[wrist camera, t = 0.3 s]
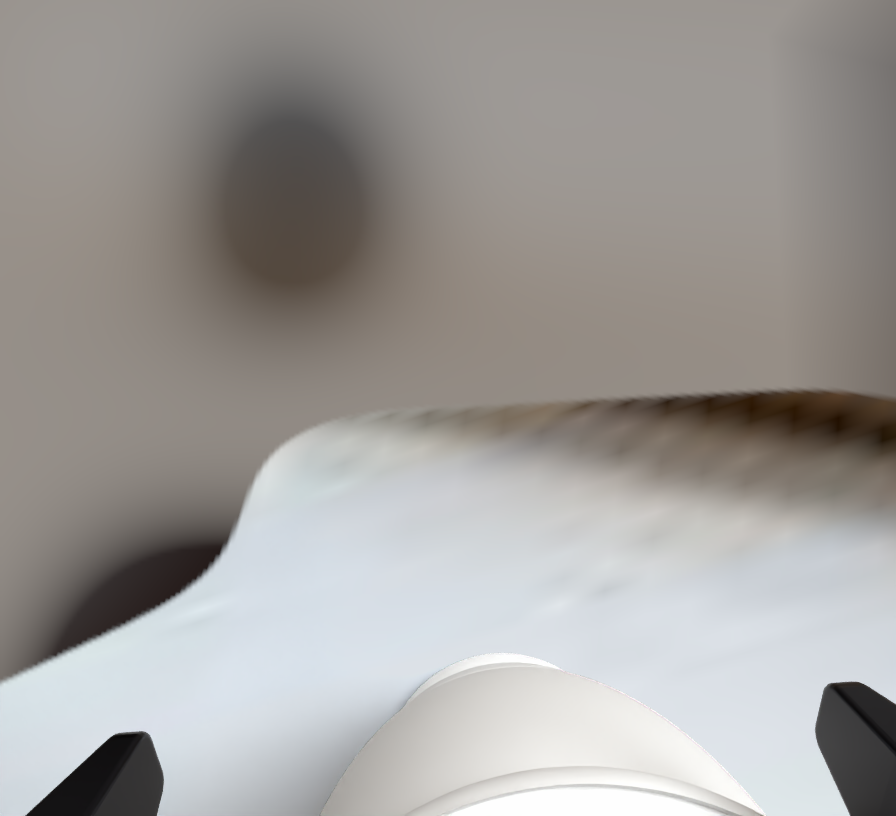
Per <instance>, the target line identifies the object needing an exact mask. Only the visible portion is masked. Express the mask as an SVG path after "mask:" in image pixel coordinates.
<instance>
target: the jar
mask: <svg viewBox="0 0 896 816" xmlns="http://www.w3.org/2000/svg"><path fill="white" fill-rule="evenodd" d="M320 816H766V814H765V813H764V812H763V811H762V810H761V808H760V807H759V806H758V805H757V804H756V802H755V801H754V800H753V799H752V798H751V797H750V795H749V794H748V793H747V792H746V791H745V790H744V789H743V788H742V786H741V785H740V784H739V783H738V782H737V781H736V780H735V779H734V778H733V777H732V776H731V775H730V774H729V773H728V772H727V771H726V770H725V769H724V768H723V767H722V766H721V765H720V764H719V763H718V762H717V761H716V760H715V759H714V758H713V757H712V756H711V755H710V754H709V753H708V752H707V751H706V750H704V749H703V748H702V747H701V746H700V745H699V744H698V743H696V742H695V741H694V740H693V739H692V738H691V737H689V736H688V735H687V734H686V733H684V732H683V731H682V730H681V729H679V728H678V727H677V726H675V725H674V724H673V723H671V722H670V721H669V720H667V719H666V718H664V717H663V716H661V715H660V714H658V713H657V712H655V711H654V710H652V709H651V708H649V707H648V706H646V705H644V704H643V703H641V702H639V701H637V700H636V699H634V698H632V697H630V696H628V695H626V694H624V693H622V692H620V691H618V690H616V689H614V688H612V687H610V686H607V685H605V684H602V683H600V682H597V681H595V680H592V679H589V678H586V677H583V676H579V675H576V674H572V673H569V672H566V671H563V670H562V669H560V668H558V667H556V666H554V665H552V664H550V663H548V662H545V661H543V660H540V659H537V658H533V657H530V656H525V655H520V654H512V653H491V654H483V655H478V656H474V657H470V658H467V659H464V660H461V661H458V662H456V663H454V664H452V665H450V666H448V667H446V668H444V669H442V670H441V671H439V672H438V673H436V674H435V675H433V676H432V677H431V678H430V679H428V680H427V681H426V682H425V683H424V684H423V685H422V686H421V687H419V689H418V690H417V691H416V692H415V693H414V694H413V695H412V696H411V698H410V699H409V700H408V701H407V703H406V704H405V706H404V707H403V708H402V709H401V710H400V711H399V712H398V713H397V714H395V715H394V716H393V717H392V718H391V719H390V720H389V721H388V722H387V723H385V724H384V725H383V726H382V727H381V728H380V729H379V730H378V731H377V732H376V733H375V735H374V736H373V737H372V738H371V739H370V740H369V741H368V742H367V744H366V745H365V746H364V747H363V748H362V750H361V751H360V752H359V753H358V755H357V756H356V757H355V759H354V760H353V761H352V763H351V764H350V765H349V767H348V768H347V770H346V771H345V773H344V774H343V776H342V777H341V779H340V780H339V782H338V783H337V785H336V787H335V788H334V790H333V792H332V794H331V795H330V797H329V799H328V801H327V802H326V804H325V806H324V808H323V810H322V812H321V814H320Z"/></svg>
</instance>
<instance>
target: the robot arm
mask: <svg viewBox="0 0 896 816" xmlns="http://www.w3.org/2000/svg"><path fill="white" fill-rule="evenodd" d="M815 733H816V739H817V743H818V746H819V748H820V750H821V753H822V755H823V757H824V759H825V761H826V764H827V766H828V768H829V770H830V772H831V775H832V777H833V779H834V781H835V783H836V786H837V788H838V790H839V792H840V794H841V796H842V799H843V801H844V803H845V805H846V807H847V810H848V812H849V814H850V816H896V704H894V703H893V702H891V701H890V700H888V699H887V698H885V697H884V696H882V695H880V694H879V693H877V692H876V691H874V690H873V689H871V688H870V687H868V686H866V685H864V684H862V683H860V682H840V683H830V684H828V685H827V686H826V687H825V688H824V691H823V695H822V699H821V704H820V708H819V712H818V717H817V721H816V727H815ZM163 785H164V778H163V771H162V768H161V765H160V762H159V760H158V757H157V754H156V751H155V748H154V745H153V742H152V739H151V737H150V735H149V734H148V733H146V732H143V731H139V732H125V733H118V734H115V735H113V736H112V737H110V738H109V739H108V740H107V741H106V742H105V743H103V744H102V745H101V746H100V747H99V748H98V749H97V750H96V751H95V752H94V753H93V754H92V755H90V756H89V757H88V758H87V759H86V760H85V761H84V762H83V763H82V764H81V765H80V766H79V767H77V768H76V769H75V770H74V771H73V772H72V773H71V774H70V775H69V776H68V777H67V778H66V779H64V780H63V781H62V782H61V783H60V784H59V785H58V786H57V787H56V788H55V789H54V790H53V791H51V792H50V793H49V794H48V795H47V796H46V797H45V798H44V799H43V800H42V801H41V802H40V803H39V804H37V805H36V806H35V807H34V808H33V809H32V810H31V811H30V812H29V813H28V814H27V815H26V816H157V812H158V808H159V804H160V800H161V796H162V792H163Z"/></svg>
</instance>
